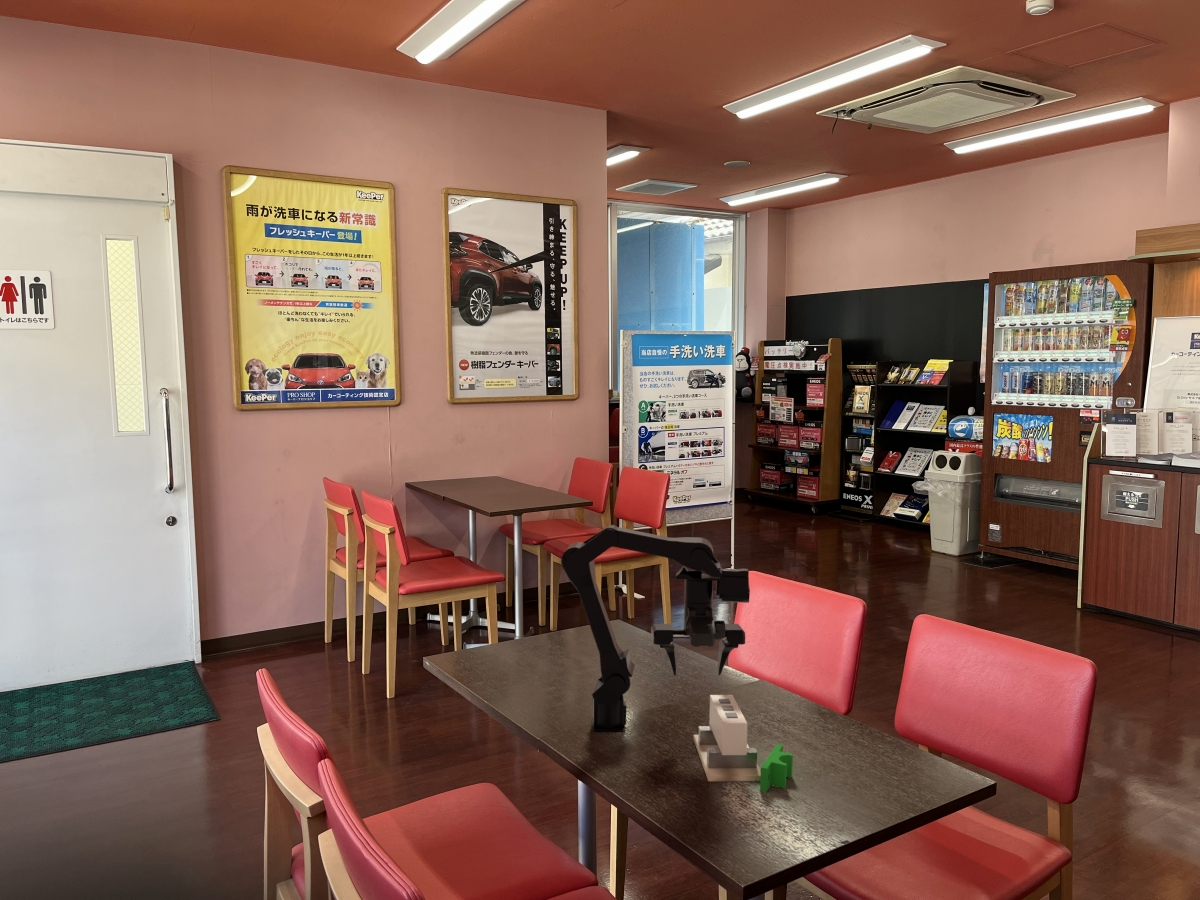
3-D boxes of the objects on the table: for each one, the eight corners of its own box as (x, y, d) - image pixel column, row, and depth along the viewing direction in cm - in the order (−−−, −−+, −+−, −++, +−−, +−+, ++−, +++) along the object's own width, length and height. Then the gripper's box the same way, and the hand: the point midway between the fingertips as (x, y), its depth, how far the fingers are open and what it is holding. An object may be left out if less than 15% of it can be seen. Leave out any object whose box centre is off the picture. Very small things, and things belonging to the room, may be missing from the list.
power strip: (722, 755, 154) (723, 722, 153) (709, 724, 168) (710, 694, 167) (746, 755, 154) (747, 722, 154) (731, 724, 168) (732, 693, 168)
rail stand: (708, 781, 152) (708, 760, 152) (693, 739, 170) (693, 720, 170) (763, 781, 153) (763, 759, 152) (742, 739, 170) (742, 720, 170)
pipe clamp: (780, 797, 147) (781, 772, 147) (759, 792, 149) (760, 767, 148) (796, 770, 157) (796, 747, 157) (776, 766, 159) (777, 743, 158)
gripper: (657, 611, 164) (655, 689, 165) (752, 611, 164) (750, 688, 166) (651, 596, 175) (650, 669, 176) (740, 596, 175) (738, 669, 177)
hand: (696, 674), depth 173 cm, fingers open, 9 cm apart
